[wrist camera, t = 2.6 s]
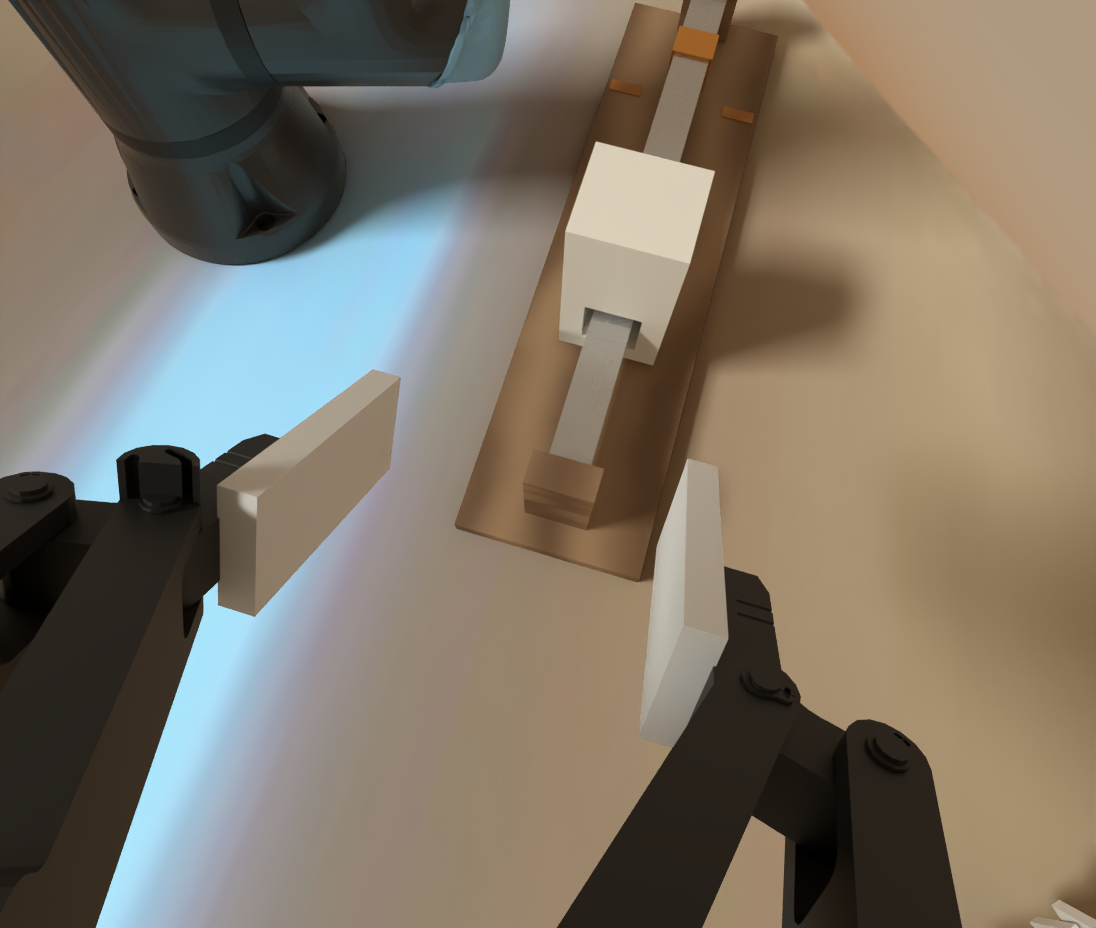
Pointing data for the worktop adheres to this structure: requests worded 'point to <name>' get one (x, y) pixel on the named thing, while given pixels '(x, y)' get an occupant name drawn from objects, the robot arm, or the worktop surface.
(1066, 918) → the spiral staircase
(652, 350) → the sleeve
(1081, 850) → the worktop surface
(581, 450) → the steel rod
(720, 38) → the walnut board
